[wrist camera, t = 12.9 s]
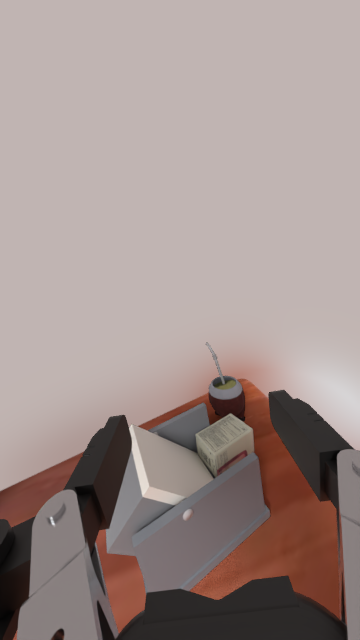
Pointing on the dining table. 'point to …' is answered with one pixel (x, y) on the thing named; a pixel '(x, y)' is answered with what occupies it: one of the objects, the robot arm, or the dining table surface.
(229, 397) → the mate gourd
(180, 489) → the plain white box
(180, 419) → the stand
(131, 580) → the dining table surface
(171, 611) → the robot arm
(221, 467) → the small box
